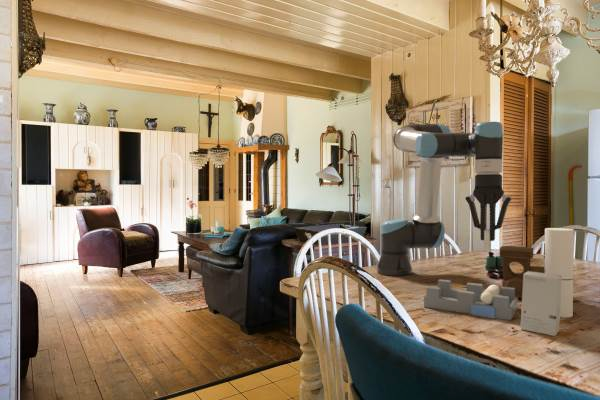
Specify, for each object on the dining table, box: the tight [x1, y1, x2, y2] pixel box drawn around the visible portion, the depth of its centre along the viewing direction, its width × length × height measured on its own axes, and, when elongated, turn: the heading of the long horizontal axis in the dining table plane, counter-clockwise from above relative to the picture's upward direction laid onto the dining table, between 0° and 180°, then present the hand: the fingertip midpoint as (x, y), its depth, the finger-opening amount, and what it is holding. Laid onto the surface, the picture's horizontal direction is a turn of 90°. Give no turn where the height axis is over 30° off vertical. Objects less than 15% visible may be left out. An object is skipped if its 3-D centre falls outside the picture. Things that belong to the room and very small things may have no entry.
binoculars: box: [484, 251, 504, 280], centre depth 172 cm, size 9×11×10 cm
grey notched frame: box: [423, 279, 519, 321], centre depth 129 cm, size 25×15×6 cm, turn 56°
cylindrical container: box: [544, 227, 575, 318], centre depth 122 cm, size 7×7×25 cm
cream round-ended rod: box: [481, 284, 501, 304], centre depth 126 cm, size 4×14×4 cm, turn 146°
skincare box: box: [520, 271, 562, 337], centre depth 108 cm, size 8×6×15 cm
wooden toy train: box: [499, 245, 545, 299], centre depth 141 cm, size 20×11×17 cm, turn 58°
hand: (487, 251), depth 127 cm, fingers closed
